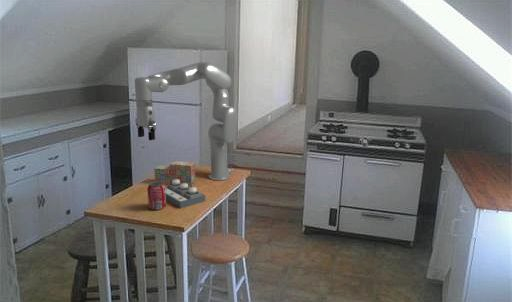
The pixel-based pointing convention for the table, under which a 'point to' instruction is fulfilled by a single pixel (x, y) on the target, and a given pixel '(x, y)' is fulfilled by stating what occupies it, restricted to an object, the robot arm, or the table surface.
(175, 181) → the button
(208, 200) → the table surface
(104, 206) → the table surface
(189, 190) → the button
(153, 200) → the beverage can
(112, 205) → the table surface
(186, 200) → the button board
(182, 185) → the button middle
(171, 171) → the stack of blocks
